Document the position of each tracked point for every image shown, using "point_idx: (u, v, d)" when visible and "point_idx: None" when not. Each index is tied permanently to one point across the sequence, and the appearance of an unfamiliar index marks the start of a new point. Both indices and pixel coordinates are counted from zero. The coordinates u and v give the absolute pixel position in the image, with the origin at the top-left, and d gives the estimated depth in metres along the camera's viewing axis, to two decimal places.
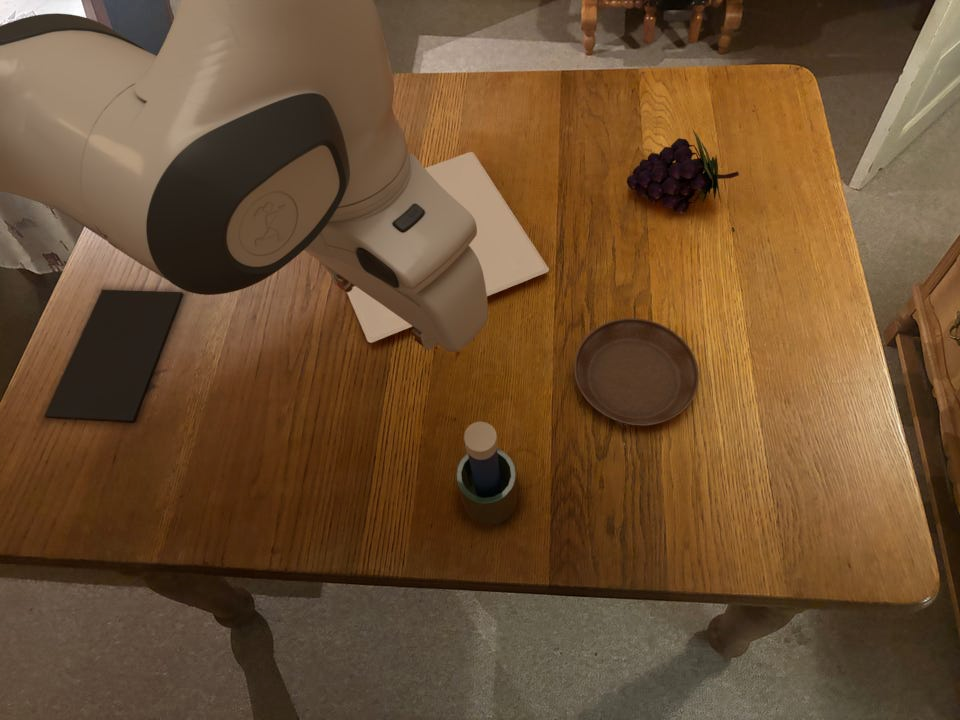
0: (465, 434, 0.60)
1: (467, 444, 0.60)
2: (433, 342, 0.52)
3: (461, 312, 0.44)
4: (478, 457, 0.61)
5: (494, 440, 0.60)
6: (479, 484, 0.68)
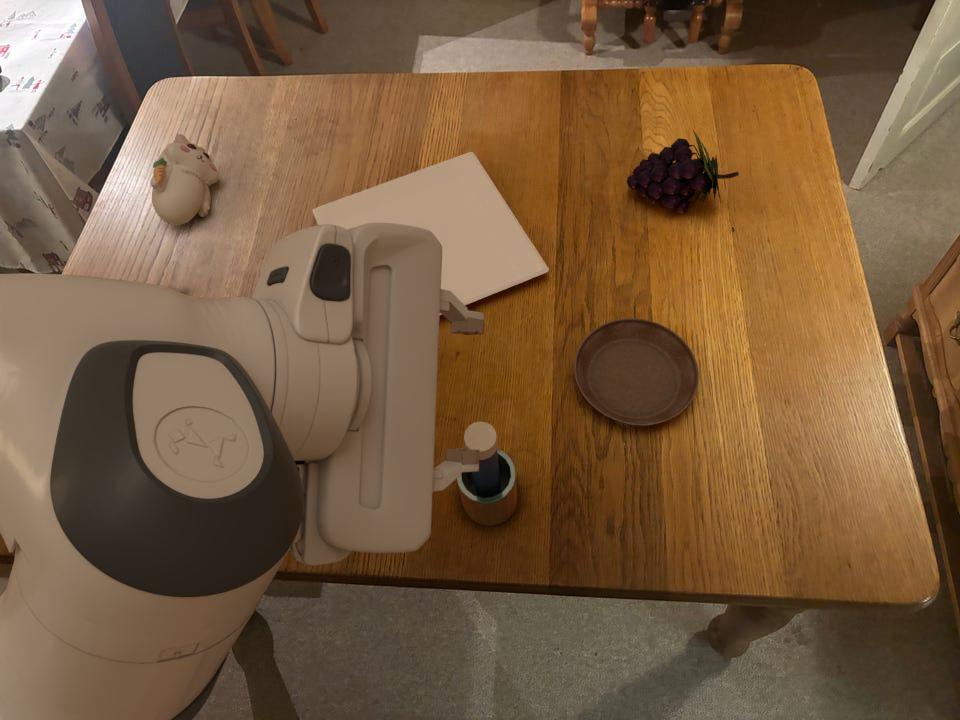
0: (465, 434, 0.60)
1: (467, 444, 0.60)
2: None
3: None
4: None
5: (494, 440, 0.60)
6: (479, 484, 0.68)
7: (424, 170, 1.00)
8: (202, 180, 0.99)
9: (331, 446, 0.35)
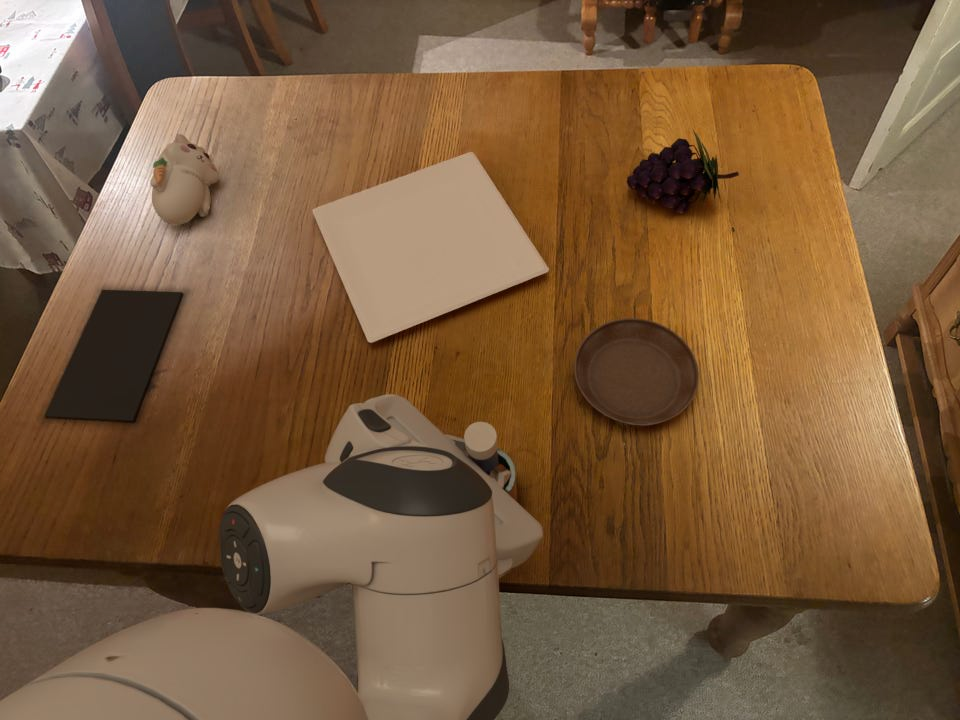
0: (465, 434, 0.60)
1: (467, 444, 0.60)
2: None
3: None
4: (478, 457, 0.61)
5: (494, 440, 0.60)
6: None
7: (424, 170, 1.00)
8: (202, 180, 0.99)
9: None
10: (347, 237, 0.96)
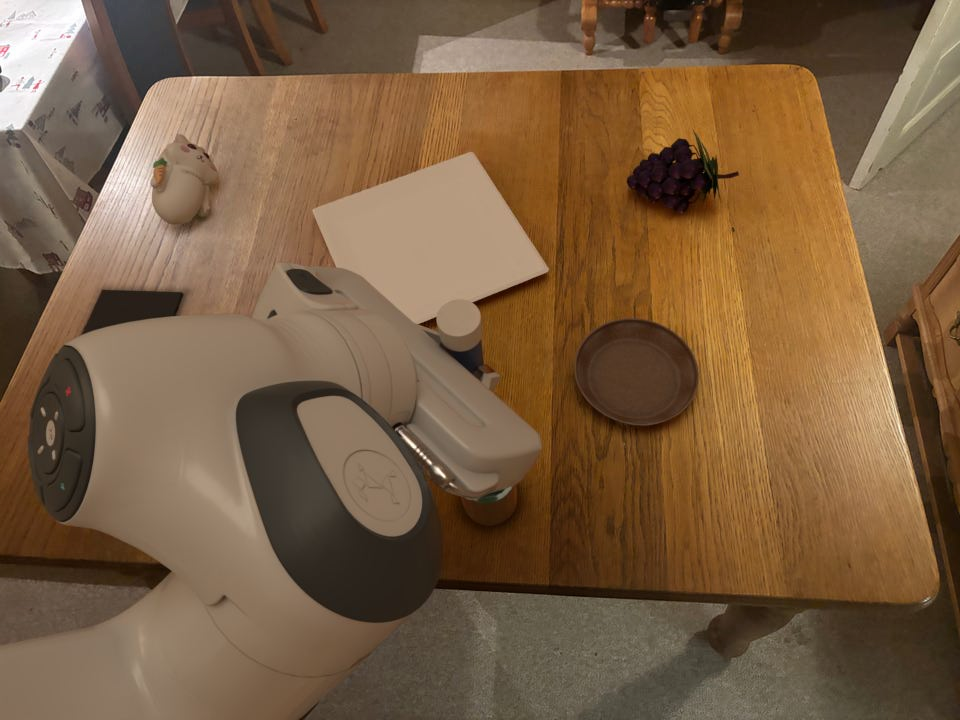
0: (438, 315, 0.44)
1: (441, 327, 0.44)
2: None
3: None
4: (456, 347, 0.45)
5: (477, 322, 0.44)
6: None
7: (424, 170, 1.00)
8: (202, 180, 0.99)
9: (411, 380, 0.37)
10: (347, 237, 0.96)
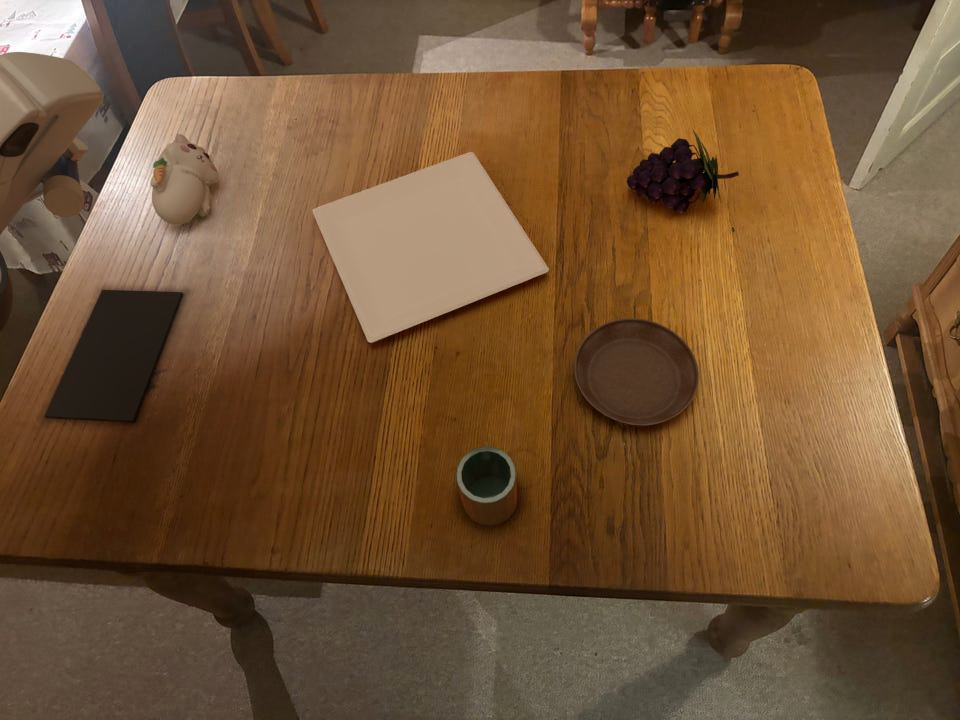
0: (61, 189, 0.57)
1: (49, 192, 0.56)
2: (80, 143, 0.61)
3: (62, 78, 0.51)
4: None
5: (63, 215, 0.58)
6: None
7: (424, 170, 1.00)
8: (202, 180, 0.99)
9: None
10: (347, 237, 0.96)
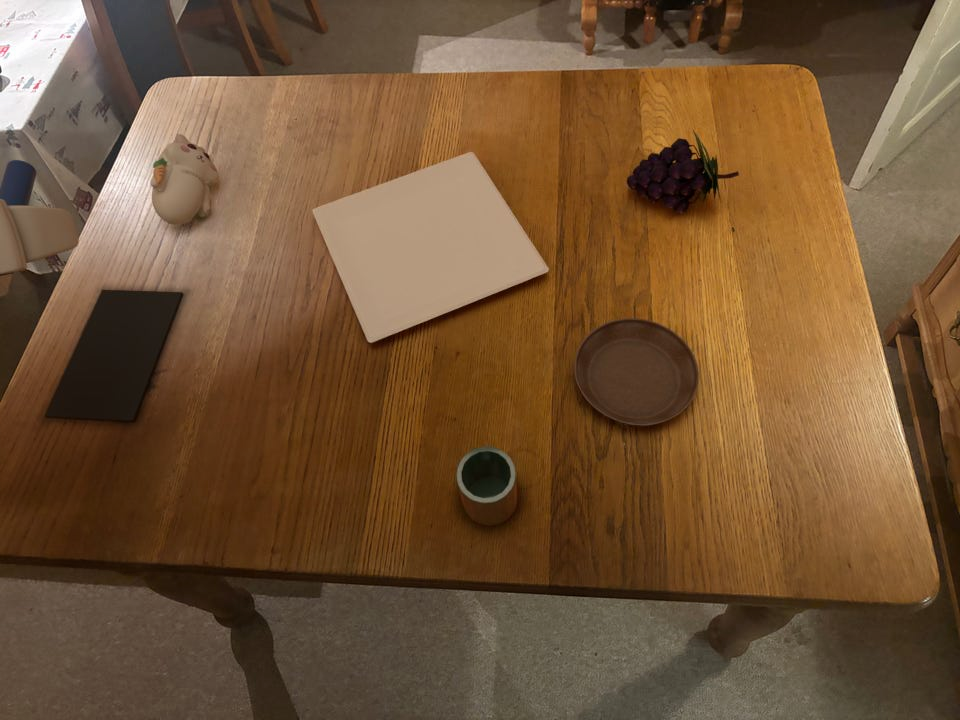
0: None
1: None
2: None
3: (54, 235, 0.62)
4: None
5: None
6: None
7: (424, 170, 1.00)
8: (202, 180, 0.99)
9: None
10: (347, 237, 0.96)
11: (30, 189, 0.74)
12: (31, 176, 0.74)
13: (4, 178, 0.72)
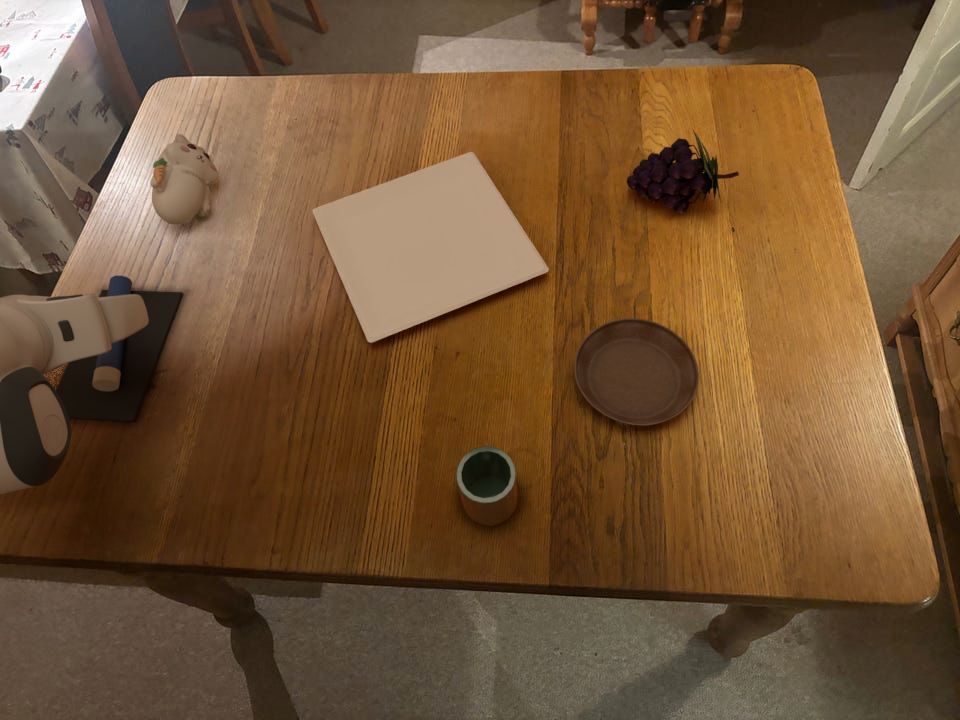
0: (112, 381, 0.83)
1: (103, 379, 0.83)
2: None
3: (131, 318, 0.74)
4: (95, 371, 0.84)
5: (97, 389, 0.84)
6: None
7: (424, 170, 1.00)
8: (202, 180, 0.99)
9: None
10: (347, 237, 0.96)
11: None
12: (130, 288, 0.92)
13: (111, 291, 0.90)
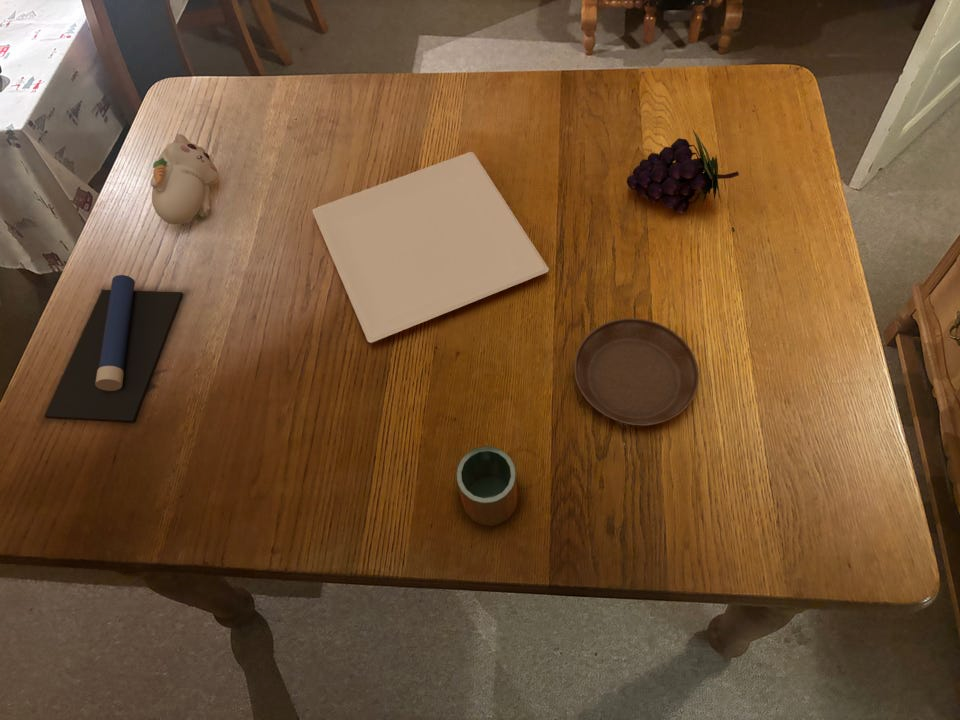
0: (118, 382, 0.84)
1: (110, 379, 0.83)
2: None
3: None
4: (101, 370, 0.83)
5: (98, 387, 0.84)
6: (113, 319, 0.88)
7: (424, 170, 1.00)
8: (202, 180, 0.99)
9: None
10: (347, 237, 0.96)
11: None
12: (133, 289, 0.92)
13: (116, 290, 0.90)
